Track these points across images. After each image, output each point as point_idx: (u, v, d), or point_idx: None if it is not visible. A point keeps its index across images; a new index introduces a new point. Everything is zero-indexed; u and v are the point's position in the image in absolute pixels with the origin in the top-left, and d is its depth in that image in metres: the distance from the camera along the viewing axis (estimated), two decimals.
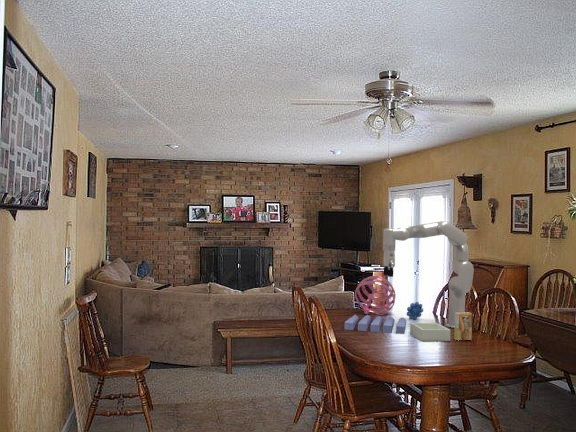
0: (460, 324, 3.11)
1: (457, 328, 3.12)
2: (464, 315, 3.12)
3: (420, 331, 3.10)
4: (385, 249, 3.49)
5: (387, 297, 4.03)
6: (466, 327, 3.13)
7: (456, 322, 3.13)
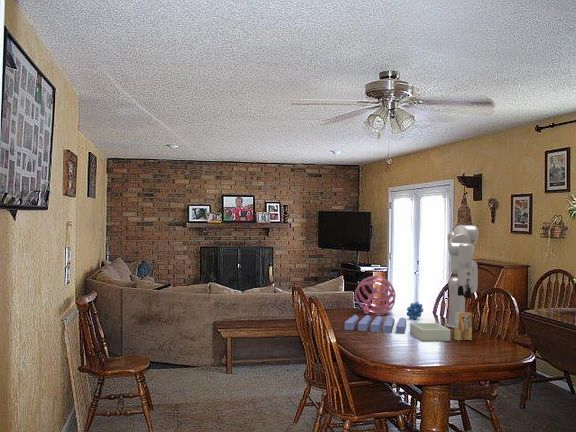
0: (460, 324, 3.11)
1: (457, 328, 3.12)
2: (464, 315, 3.12)
3: (420, 331, 3.10)
4: (461, 267, 3.12)
5: (387, 297, 4.03)
6: (466, 327, 3.13)
7: (456, 322, 3.13)
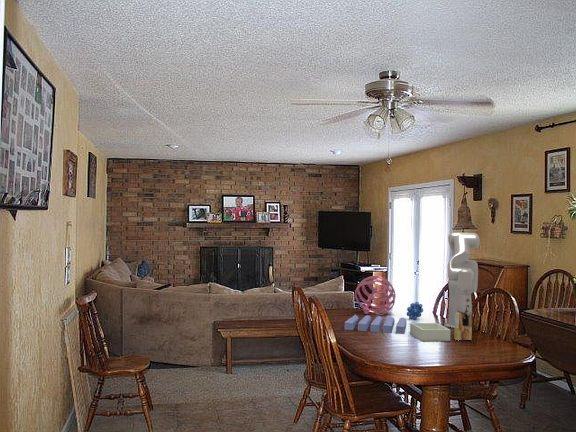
0: (460, 324, 3.11)
1: (457, 328, 3.12)
2: None
3: (420, 331, 3.10)
4: (460, 293, 3.12)
5: (387, 297, 4.03)
6: (466, 327, 3.13)
7: (456, 322, 3.13)
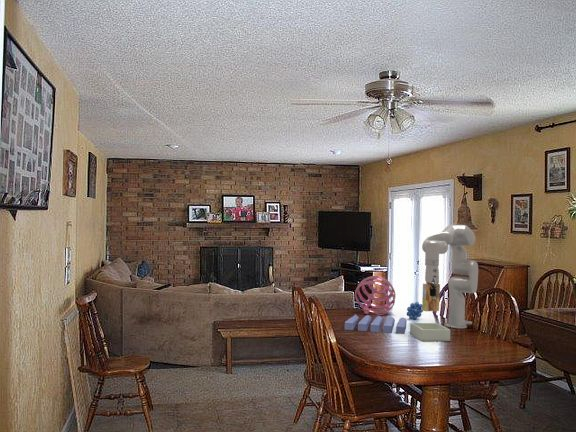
0: (427, 294, 3.16)
1: (425, 298, 3.17)
2: None
3: (420, 331, 3.10)
4: (428, 264, 3.16)
5: (387, 297, 4.03)
6: (434, 298, 3.17)
7: (424, 292, 3.17)
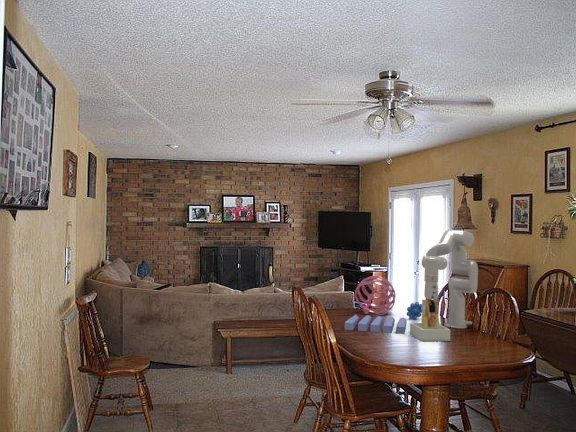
0: (427, 311, 3.16)
1: (424, 315, 3.16)
2: None
3: (420, 331, 3.10)
4: (427, 280, 3.16)
5: (387, 297, 4.03)
6: (433, 314, 3.17)
7: (423, 309, 3.17)
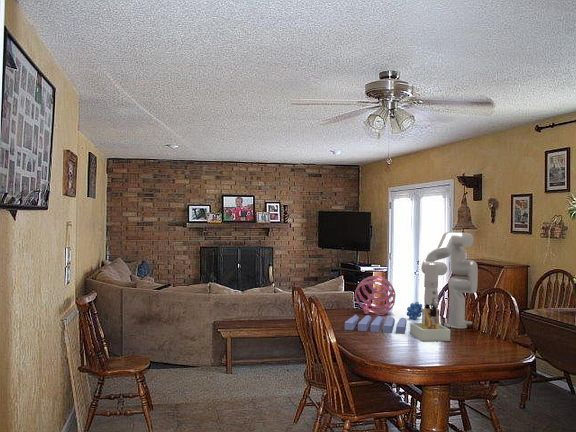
0: (426, 320, 3.16)
1: (423, 324, 3.17)
2: (430, 311, 3.16)
3: (420, 331, 3.10)
4: (427, 286, 3.16)
5: (387, 297, 4.03)
6: (433, 323, 3.17)
7: (423, 318, 3.17)
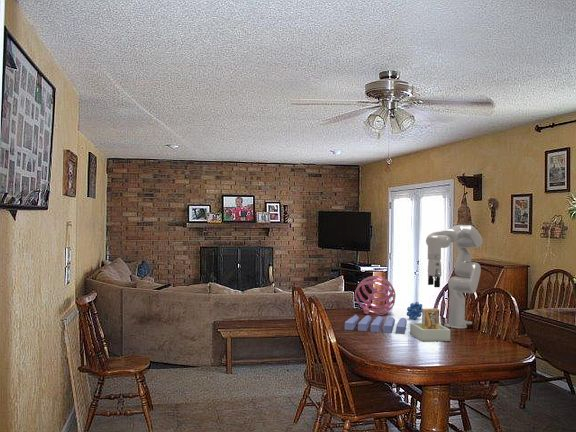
0: (426, 320, 3.16)
1: (423, 324, 3.17)
2: (430, 311, 3.16)
3: (420, 331, 3.10)
4: (430, 258, 3.28)
5: (387, 297, 4.03)
6: (433, 323, 3.17)
7: (423, 318, 3.17)
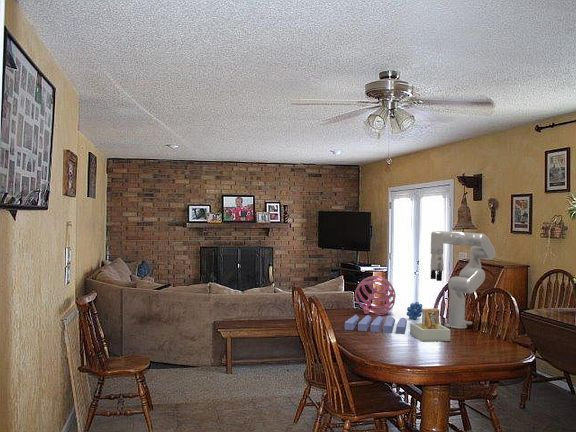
0: (426, 320, 3.16)
1: (423, 324, 3.17)
2: (430, 311, 3.16)
3: (420, 331, 3.10)
4: (433, 253, 3.41)
5: (387, 297, 4.03)
6: (433, 323, 3.17)
7: (423, 318, 3.17)
